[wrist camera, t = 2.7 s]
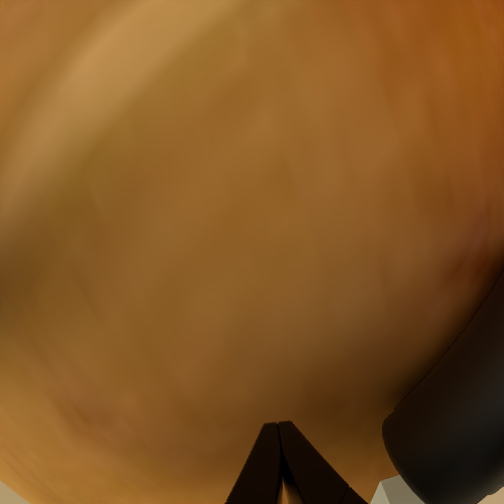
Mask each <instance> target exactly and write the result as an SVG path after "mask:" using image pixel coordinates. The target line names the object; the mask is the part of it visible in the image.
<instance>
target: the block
mask: <svg viewBox="0 0 504 504" xmlns="http://www.w3.org/2000/svg"><path fill="white" fill-rule="evenodd" d="M370 504H425V503H424V502H423V501H421V500H420V499H419V498H418V497H417V495H416V494H415V493H414V492H413V491H412V490H411V489H410V488H409V486H408V485H407V484H406V483H405V481H404V480H403V479H402V477H401V476H400V475H397V476H394V477H391V478H388V479H385V480H382V481H380V483H379V485H378V488H377V490H376V492H375V494H374V497H373V499H372V501H371V503H370Z"/></svg>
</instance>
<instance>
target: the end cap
mask: <svg viewBox="0 0 504 504" xmlns="http://www.w3.org/2000/svg"><path fill="white" fill-rule="evenodd" d="M382 437H383V440H384V444H385V447H386V450H387V452H388V454H389V457H390V459H391V461H392V463H393V464H394V466H395V468H396V470H397V471H398V473H399V474H400V476H401V477H402V479H403V480H404V481H405V483H406V484H407V485H408V486H409V488H410V489H411V490H412V491H413V492H414V493H415V494H416V495H417V497H418V498H419V499H420V500H421V501H423V502H424V503H425V504H477V503H479V502H480V501H481V500H482V499H483V498H485V497H486V496H487V495H492V494H494V493H496V492H497V491H498V490H499V489H500V488H502V487H504V270H503V272H502V273H501V275H500V277H499V278H498V280H497V282H496V283H495V285H494V286H493V288H492V290H491V291H490V293H489V294H488V296H487V297H486V299H485V301H484V302H483V304H482V305H481V306H480V308H479V309H478V311H477V312H476V314H475V315H474V317H473V318H472V319H471V321H470V322H469V324H468V325H467V326H466V328H465V329H464V330H463V332H462V333H461V334H460V336H459V337H458V338H457V339H456V341H455V342H454V343H453V345H452V346H451V347H450V348H449V349H448V351H447V352H446V353H445V354H444V356H443V357H442V358H441V359H440V360H439V361H438V363H437V364H436V365H435V366H434V367H433V368H432V369H431V371H430V372H429V373H428V374H427V375H426V376H425V377H424V378H423V379H422V380H421V382H420V383H419V384H418V385H417V386H416V387H415V388H414V389H413V390H412V391H411V392H410V393H409V394H408V395H407V396H406V397H405V398H404V399H403V400H402V401H401V402H400V403H399V404H398V405H397V406H396V407H395V408H394V410H393V412H392V413H391V414H390V415H389V416H388V417H387V418H386V419H385V420H384V423H383V426H382Z"/></svg>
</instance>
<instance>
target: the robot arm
mask: <svg viewBox="0 0 504 504" xmlns="http://www.w3.org/2000/svg"><path fill="white" fill-rule="evenodd" d="M283 483H284V487H285V491H286V494H287V498H288V502H289V504H368V503H367V502H366V501H365V500H364V499H362V498H361V497H360V496H359V495H358V494H357V493H356V492H355V491H354V490H353V489H352V488H351V487H349V485H348V484H347V483H346V482H345V481H344V479H343V478H342V477H341V476H340V475H339V474H338V473H337V472H336V471H335V470H334V469H333V468H332V467H331V466H330V464H329V463H328V462H327V461H326V460H325V459H324V458H323V457H322V456H321V455H320V453H319V452H318V451H317V450H316V449H315V448H314V447H313V446H312V444H311V443H310V442H309V441H308V440H307V439H306V438H305V436H304V435H303V434H302V433H301V432H300V431H299V430H298V428H297V427H296V426H295V425H294V424H293V422H291V421H281V422H278V425H277V423H276V422H272V423H265V424H263V426H262V428H261V430H260V433H259V435H258V437H257V439H256V441H255V444H254V446H253V448H252V450H251V452H250V454H249V456H248V458H247V460H246V463H245V465H244V467H243V469H242V471H241V473H240V475H239V477H238V479H237V481H236V483H235V485H234V487H233V489H232V491H231V493H230V494H229V496H228V498H227V500H226V501H227V502H225V504H282V496H283Z"/></svg>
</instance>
